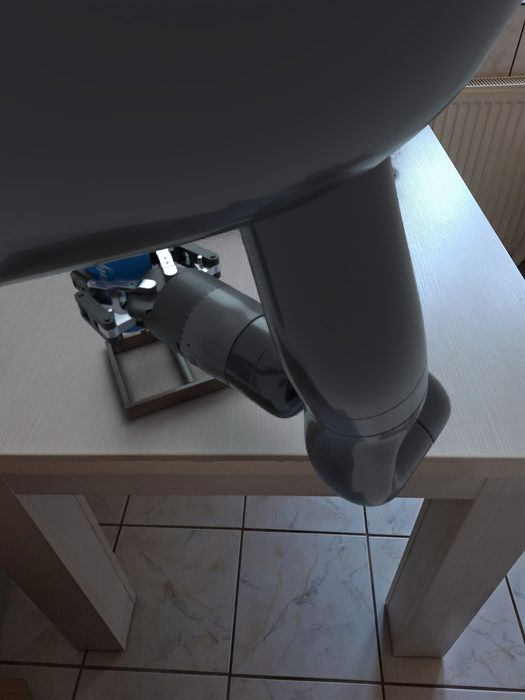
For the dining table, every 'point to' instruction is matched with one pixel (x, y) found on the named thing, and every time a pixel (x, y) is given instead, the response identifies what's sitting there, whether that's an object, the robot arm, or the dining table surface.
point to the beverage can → (123, 274)
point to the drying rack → (165, 397)
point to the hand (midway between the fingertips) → (105, 257)
